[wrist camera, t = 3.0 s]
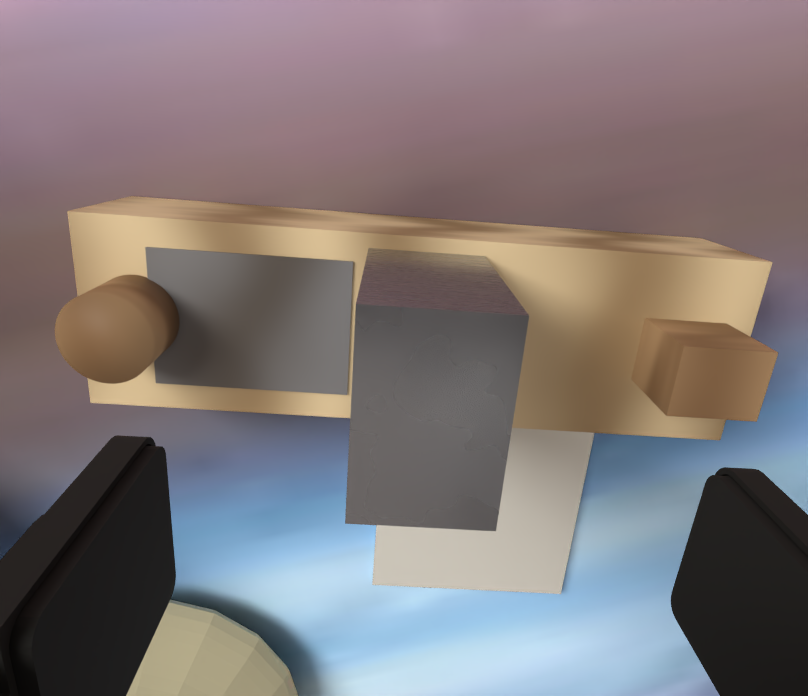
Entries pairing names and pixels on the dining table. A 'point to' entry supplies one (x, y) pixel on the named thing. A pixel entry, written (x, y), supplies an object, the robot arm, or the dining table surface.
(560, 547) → the mat
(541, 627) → the dining table surface
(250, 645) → the handbell
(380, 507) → the tall grey box
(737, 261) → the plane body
